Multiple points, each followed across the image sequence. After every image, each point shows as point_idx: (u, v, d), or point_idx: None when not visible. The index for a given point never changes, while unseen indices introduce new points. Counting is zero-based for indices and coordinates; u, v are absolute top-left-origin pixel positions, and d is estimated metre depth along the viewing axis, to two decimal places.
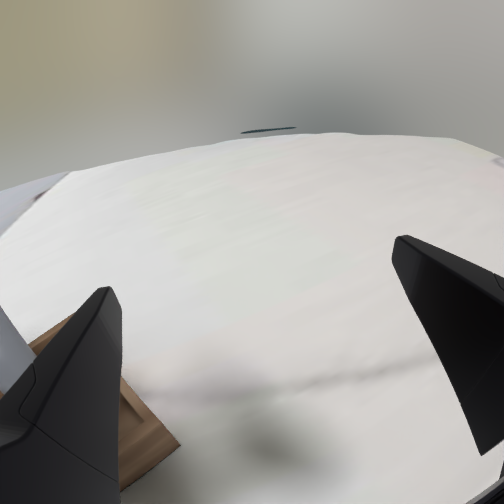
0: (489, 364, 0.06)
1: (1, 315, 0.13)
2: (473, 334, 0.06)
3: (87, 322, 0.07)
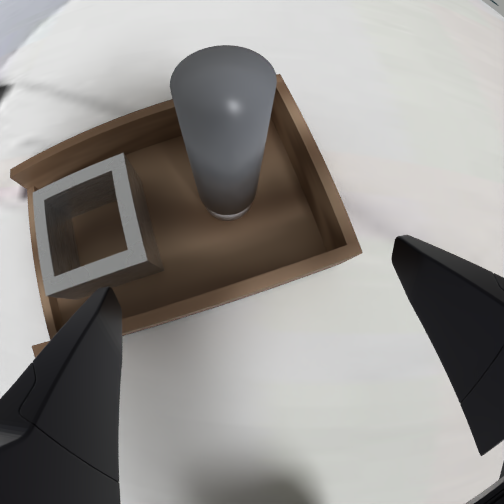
0: (489, 364, 0.06)
1: None
2: (473, 334, 0.06)
3: (87, 322, 0.07)
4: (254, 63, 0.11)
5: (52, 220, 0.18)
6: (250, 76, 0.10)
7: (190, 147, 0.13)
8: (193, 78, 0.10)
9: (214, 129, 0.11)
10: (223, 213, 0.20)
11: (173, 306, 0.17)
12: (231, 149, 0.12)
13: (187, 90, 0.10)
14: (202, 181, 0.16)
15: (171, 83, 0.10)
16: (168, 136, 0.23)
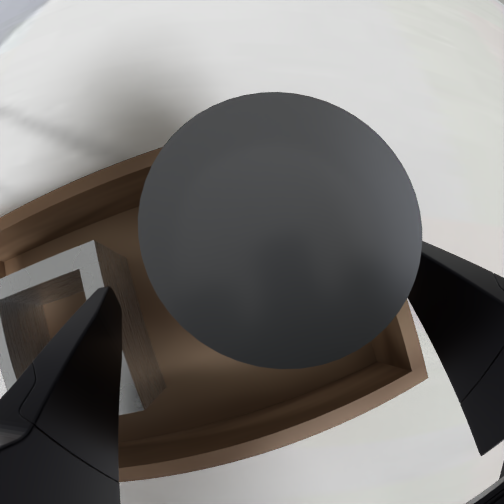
0: (489, 364, 0.06)
1: None
2: (473, 334, 0.06)
3: (87, 322, 0.07)
4: (365, 159, 0.04)
5: (13, 325, 0.12)
6: (363, 210, 0.04)
7: None
8: (204, 212, 0.04)
9: None
10: None
11: (184, 460, 0.11)
12: None
13: (188, 259, 0.04)
14: None
15: (142, 225, 0.04)
16: None
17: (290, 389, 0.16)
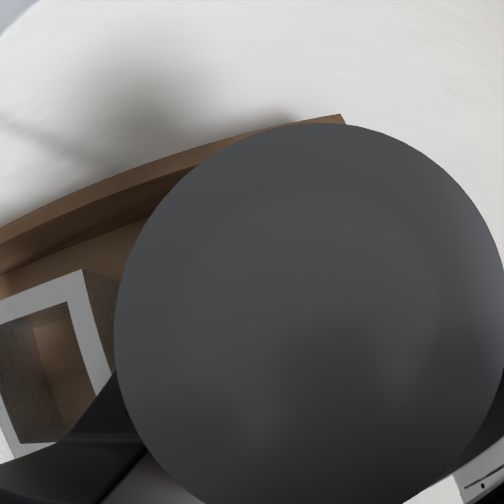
0: None
1: None
2: None
3: None
4: (457, 241, 0.03)
5: (1, 355, 0.11)
6: (451, 323, 0.02)
7: None
8: (220, 348, 0.02)
9: None
10: None
11: None
12: None
13: (200, 420, 0.02)
14: None
15: (121, 361, 0.02)
16: None
17: None
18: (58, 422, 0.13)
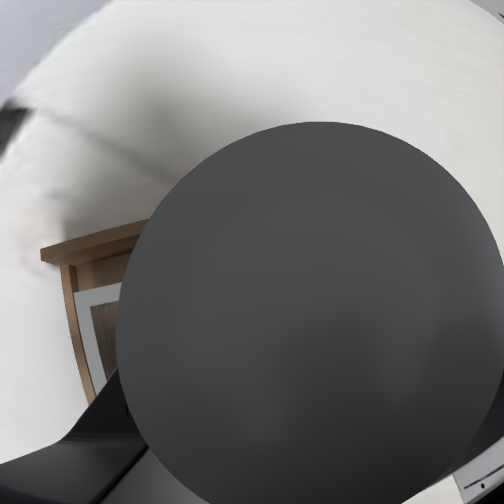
0: None
1: None
2: None
3: None
4: (458, 240, 0.03)
5: (99, 326, 0.17)
6: (453, 321, 0.02)
7: None
8: (223, 345, 0.02)
9: None
10: None
11: None
12: None
13: (201, 418, 0.02)
14: None
15: (123, 359, 0.02)
16: None
17: None
18: None
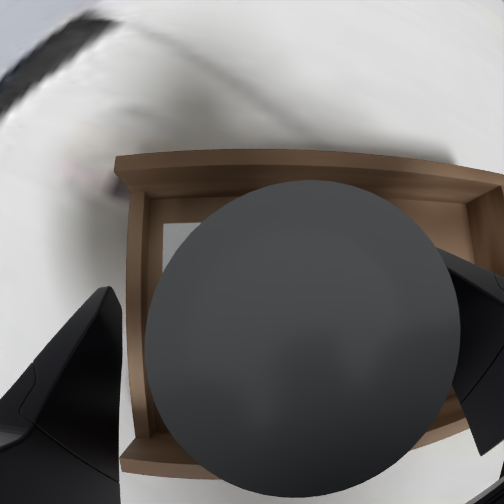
0: (489, 364, 0.06)
1: None
2: (473, 333, 0.06)
3: (87, 322, 0.07)
4: (412, 274, 0.04)
5: None
6: (404, 340, 0.03)
7: None
8: (223, 356, 0.03)
9: None
10: None
11: None
12: None
13: (208, 407, 0.03)
14: None
15: (150, 367, 0.03)
16: None
17: None
18: None
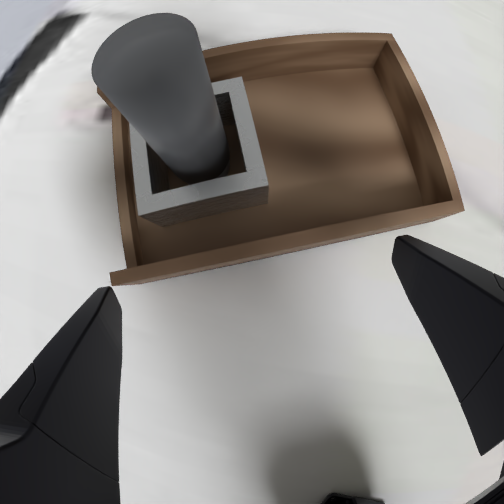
0: (489, 364, 0.06)
1: None
2: (473, 333, 0.06)
3: (87, 322, 0.07)
4: (172, 25, 0.09)
5: None
6: (169, 39, 0.09)
7: (134, 126, 0.12)
8: (113, 59, 0.09)
9: (142, 102, 0.09)
10: (199, 182, 0.19)
11: (290, 235, 0.17)
12: (170, 117, 0.11)
13: (107, 73, 0.09)
14: (162, 156, 0.15)
15: (93, 70, 0.09)
16: (276, 72, 0.21)
17: (363, 217, 0.21)
18: None
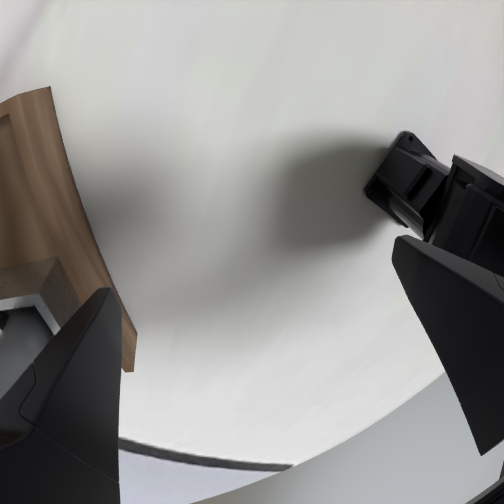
0: (489, 364, 0.06)
1: None
2: (473, 334, 0.06)
3: (87, 322, 0.07)
4: None
5: None
6: None
7: None
8: None
9: None
10: None
11: (70, 275, 0.18)
12: None
13: None
14: None
15: None
16: None
17: None
18: None
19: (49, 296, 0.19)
